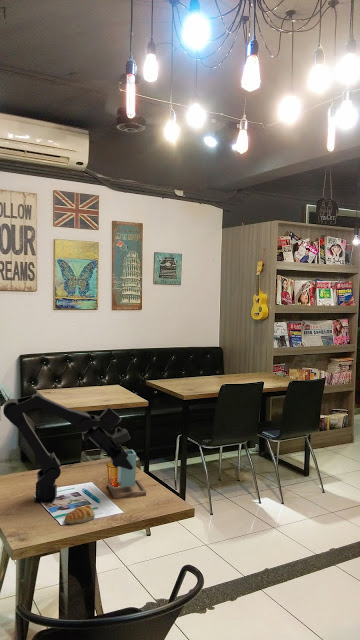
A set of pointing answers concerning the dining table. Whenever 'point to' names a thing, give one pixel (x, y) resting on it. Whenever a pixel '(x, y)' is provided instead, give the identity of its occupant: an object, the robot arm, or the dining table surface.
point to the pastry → (80, 515)
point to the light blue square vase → (128, 471)
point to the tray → (127, 490)
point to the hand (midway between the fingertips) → (130, 466)
